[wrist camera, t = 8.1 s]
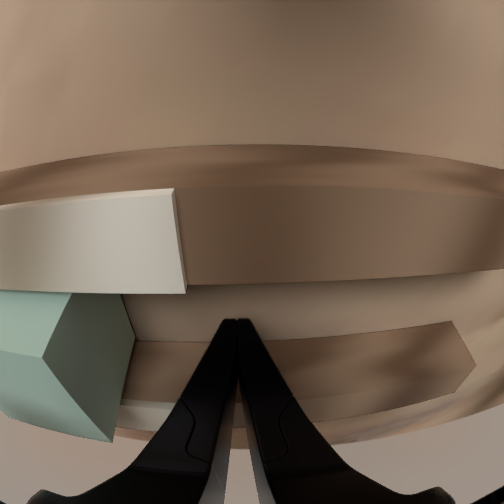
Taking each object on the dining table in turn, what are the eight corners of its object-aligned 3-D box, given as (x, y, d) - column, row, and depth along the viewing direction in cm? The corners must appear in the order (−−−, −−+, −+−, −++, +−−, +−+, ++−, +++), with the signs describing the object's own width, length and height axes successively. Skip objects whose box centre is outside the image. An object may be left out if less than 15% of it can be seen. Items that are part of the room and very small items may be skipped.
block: (103, 237, 10) (41, 357, 6) (135, 337, 12) (112, 443, 8) (1, 242, 9) (-66, 332, 5) (43, 330, 12) (8, 416, 8)
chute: (512, 171, 9) (566, 212, 6) (434, 350, 15) (456, 396, 12) (-15, 176, 8) (-71, 222, 5) (70, 363, 14) (53, 415, 11)
